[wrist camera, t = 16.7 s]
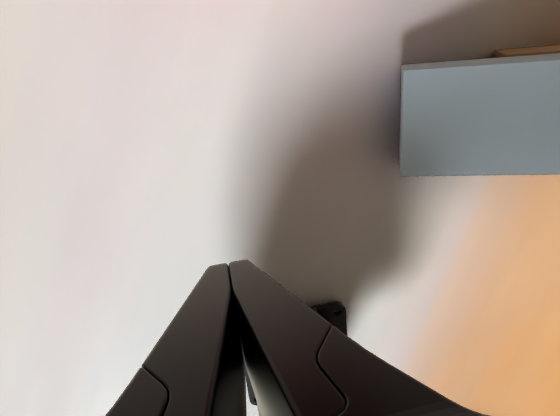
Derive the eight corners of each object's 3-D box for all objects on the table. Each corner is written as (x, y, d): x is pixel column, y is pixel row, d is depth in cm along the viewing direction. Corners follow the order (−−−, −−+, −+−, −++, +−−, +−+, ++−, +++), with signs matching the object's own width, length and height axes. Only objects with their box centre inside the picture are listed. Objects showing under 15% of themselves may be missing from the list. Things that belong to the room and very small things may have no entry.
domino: (399, 162, 22) (557, 159, 21) (400, 176, 21) (573, 174, 19) (401, 64, 20) (577, 51, 18) (403, 70, 18) (598, 57, 17)
